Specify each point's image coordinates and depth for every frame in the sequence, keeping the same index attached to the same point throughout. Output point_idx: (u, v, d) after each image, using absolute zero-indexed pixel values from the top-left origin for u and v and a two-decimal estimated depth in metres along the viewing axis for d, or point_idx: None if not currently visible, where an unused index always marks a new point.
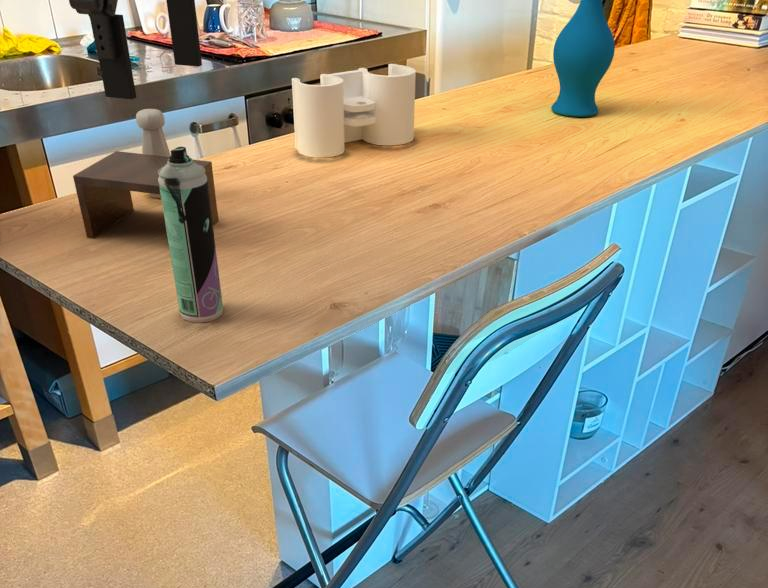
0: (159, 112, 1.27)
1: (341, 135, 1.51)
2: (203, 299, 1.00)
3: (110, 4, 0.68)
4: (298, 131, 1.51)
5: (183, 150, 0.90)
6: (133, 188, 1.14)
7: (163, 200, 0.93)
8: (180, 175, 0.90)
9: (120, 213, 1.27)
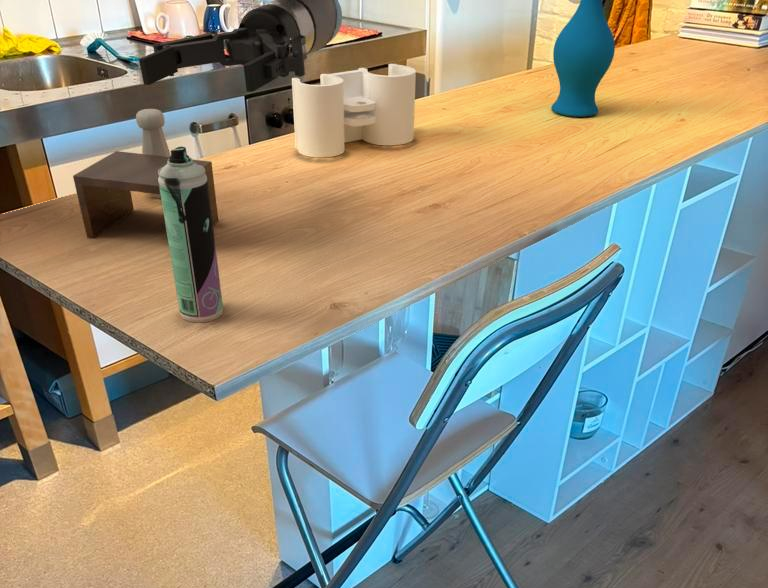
0: (159, 112, 1.27)
1: (341, 135, 1.51)
2: (203, 299, 1.00)
3: None
4: (298, 131, 1.51)
5: (183, 150, 0.90)
6: (133, 188, 1.14)
7: (163, 200, 0.93)
8: (180, 175, 0.90)
9: (120, 213, 1.27)
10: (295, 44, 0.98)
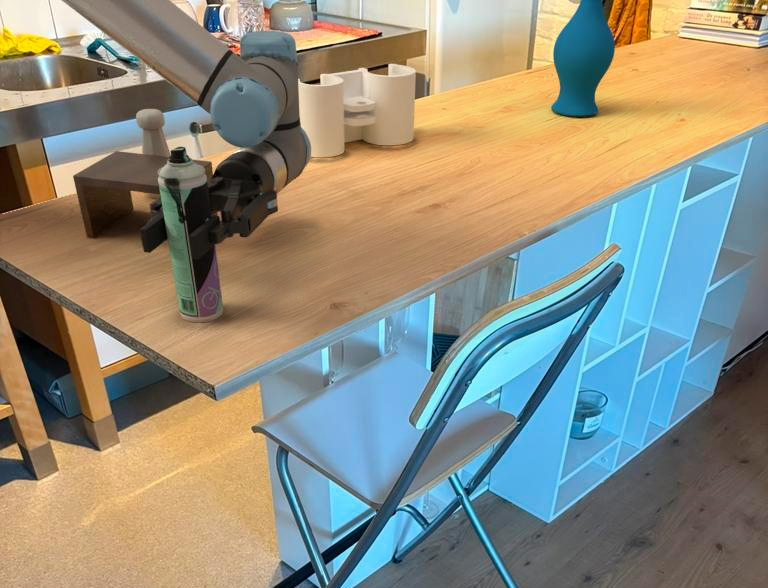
0: (159, 112, 1.27)
1: (341, 135, 1.51)
2: (203, 299, 1.00)
3: (230, 235, 0.98)
4: None
5: (183, 150, 0.90)
6: (133, 188, 1.14)
7: (163, 200, 0.93)
8: (179, 175, 0.90)
9: (120, 213, 1.27)
10: (253, 203, 1.00)
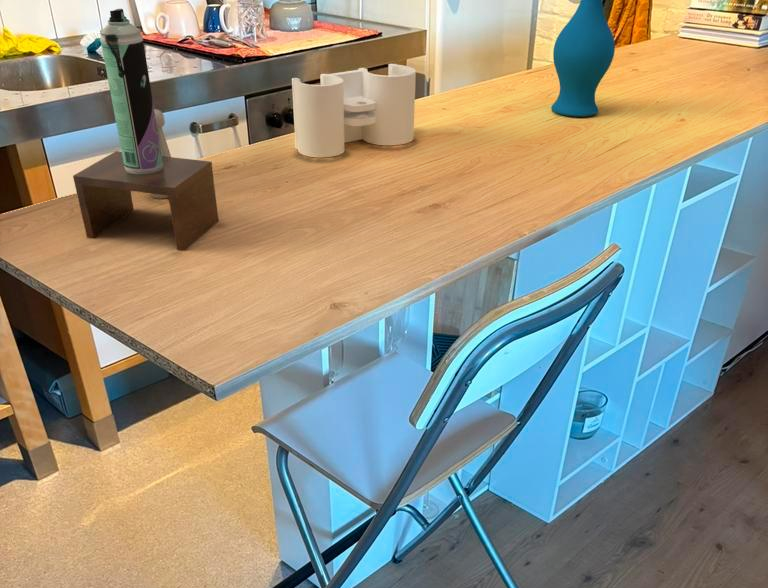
0: (159, 112, 1.27)
1: (341, 135, 1.51)
2: (144, 152, 1.15)
3: None
4: (298, 131, 1.51)
5: (120, 10, 1.05)
6: (133, 188, 1.14)
7: (105, 57, 1.08)
8: (118, 32, 1.05)
9: (120, 213, 1.27)
10: None
